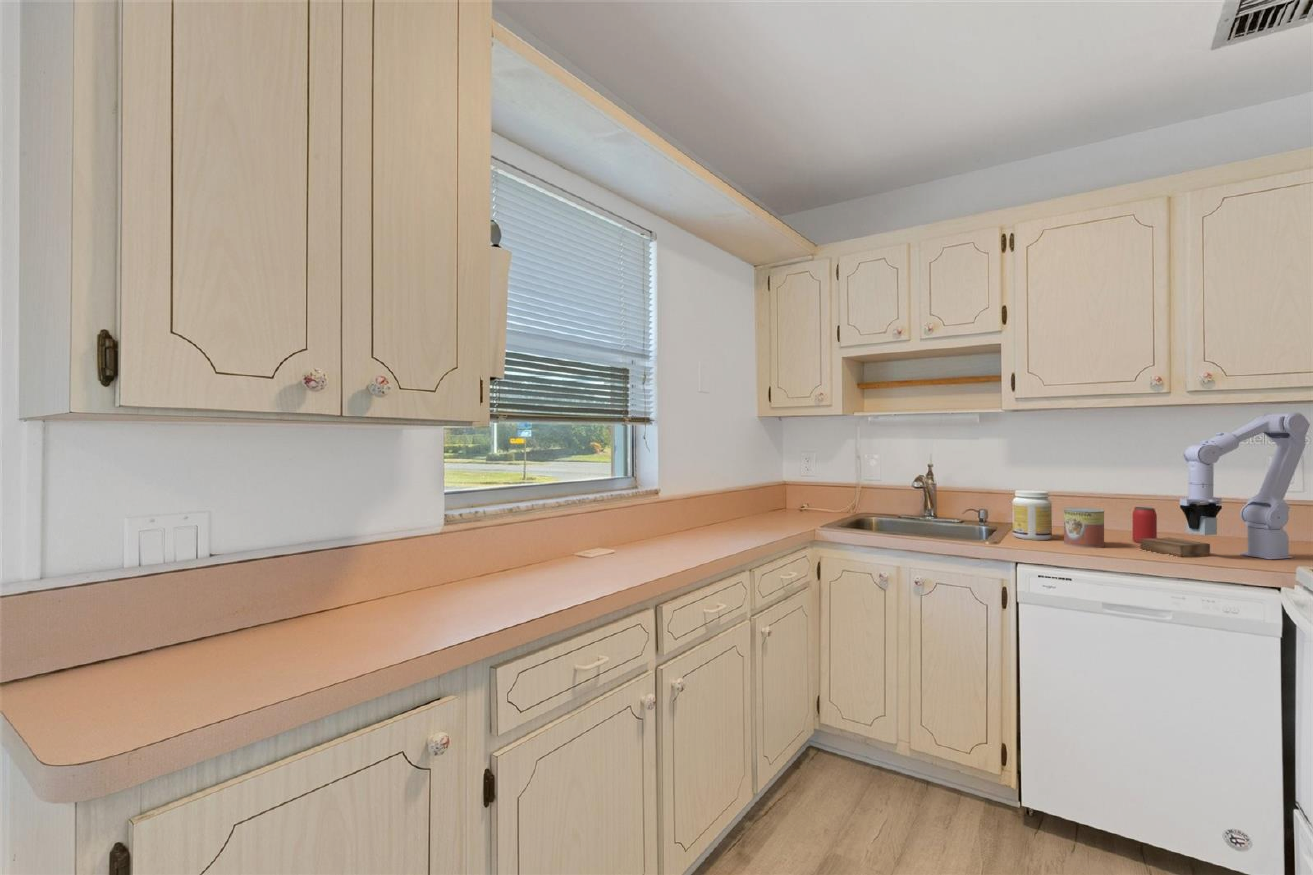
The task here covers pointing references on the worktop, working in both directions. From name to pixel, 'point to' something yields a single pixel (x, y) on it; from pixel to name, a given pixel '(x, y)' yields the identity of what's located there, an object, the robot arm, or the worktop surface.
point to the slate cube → (1205, 526)
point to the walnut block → (1175, 547)
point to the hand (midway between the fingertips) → (1200, 528)
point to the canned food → (1084, 527)
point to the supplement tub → (1032, 515)
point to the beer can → (1144, 523)
